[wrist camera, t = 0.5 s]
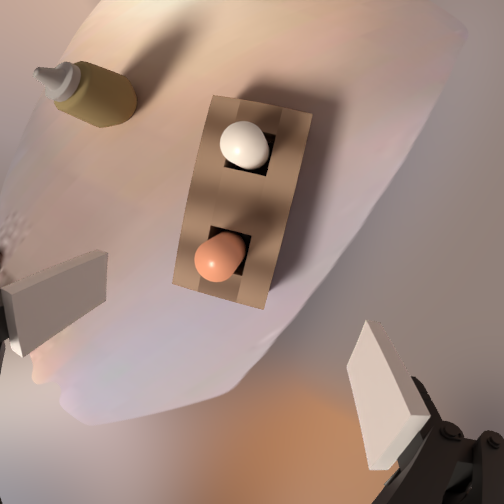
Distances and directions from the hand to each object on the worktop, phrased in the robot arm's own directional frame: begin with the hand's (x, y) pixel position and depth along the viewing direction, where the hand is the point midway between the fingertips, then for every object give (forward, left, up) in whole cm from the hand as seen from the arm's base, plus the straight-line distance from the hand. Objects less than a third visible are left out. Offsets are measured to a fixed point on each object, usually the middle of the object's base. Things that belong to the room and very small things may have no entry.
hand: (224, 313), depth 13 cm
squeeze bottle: (-14, -25, -25) cm, 38 cm away
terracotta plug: (+2, -4, -19) cm, 20 cm away
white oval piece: (-9, -4, -19) cm, 22 cm away
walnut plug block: (-4, -4, -24) cm, 25 cm away
